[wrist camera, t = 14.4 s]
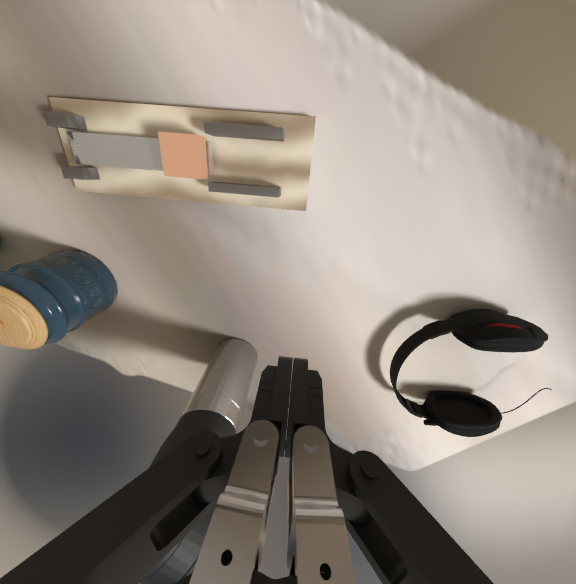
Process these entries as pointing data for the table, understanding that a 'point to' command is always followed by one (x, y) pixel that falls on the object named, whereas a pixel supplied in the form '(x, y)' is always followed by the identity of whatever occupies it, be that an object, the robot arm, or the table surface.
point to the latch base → (216, 129)
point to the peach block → (183, 155)
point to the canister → (52, 297)
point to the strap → (122, 151)
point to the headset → (479, 335)
